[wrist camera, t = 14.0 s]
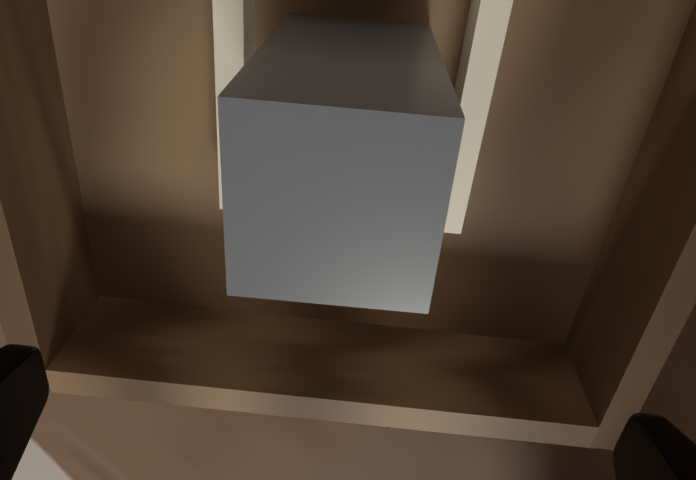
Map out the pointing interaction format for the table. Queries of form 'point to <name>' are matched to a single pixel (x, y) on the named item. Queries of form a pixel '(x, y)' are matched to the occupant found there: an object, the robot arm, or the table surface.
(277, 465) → the table surface
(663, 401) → the table surface
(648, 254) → the walled box
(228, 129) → the grey rectangular block
